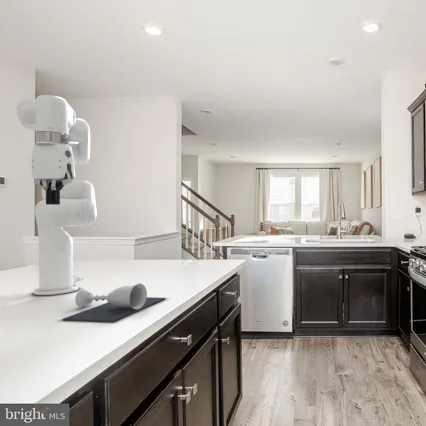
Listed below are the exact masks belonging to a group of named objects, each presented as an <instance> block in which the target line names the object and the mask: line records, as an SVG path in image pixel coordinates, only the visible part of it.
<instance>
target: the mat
mask: <svg viewBox="0 0 426 426" xmlns="http://www.w3.org/2000/svg"><path fill="white" fill-rule="evenodd" d="M165 300H166V297H148V296H147V298H146V301H145V304H144V305H143V306H142V307H141V308H140V309H134V308H119V307H116V306H114V305H112V304H111V303H109V302H108V301H107V302H105V303H102V304H99V305H98V306H94V307H91V308H89V309H86V310H83V311H80V312H77V313H75V314H72V315H69V316H67V317H64V318H62V321H65V322H67V321H69V322H93V323H95V322H97V323H115V322H118V321H120V320H122V319H125V318H126V317H129V316H131V315H133V314H136V313H137V312H140V311H142V310H144V309H146V308H149V307H151V306H154V305H155V304H158V303H161V302H162V301H165Z"/></svg>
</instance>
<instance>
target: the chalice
mask: <svg viewBox="0 0 426 426" xmlns="http://www.w3.org/2000/svg"><path fill="white" fill-rule="evenodd" d="M147 297H148V291H147V288H146V286H145V285H144V284H143V283H136V284H135V285H123V286H120V287H118V288H116V289H114V290H112V291H110V292H109V293H108V294H107V295H105V294H102V295H100V294H96V295H93V293H92V292H91V291H89V290H86V289H80V290H78V292H77V293H76V295H75V298H74V301H75V302H74V303H75V305H76V306H77V307H78V308H85V307H87V306H89V305H91V304H92V303H93V301H95V302H99V301H103V302H104V301H105V300H106V301H107V303H108V302H109V303H111V304H112V305H114V306H116V307H119V308H134V309H140V308H141V307H142V306H143V305H144V304H145V301H146V298H147Z"/></svg>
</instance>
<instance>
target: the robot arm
mask: <svg viewBox="0 0 426 426" xmlns="http://www.w3.org/2000/svg"><path fill="white" fill-rule="evenodd" d="M76 113H77V112H76V111H75V110H74V108H73V107H72V106H71V105H70V104H69V103H68V101H67V100H66V99H65V98H63V97H61V96H58V95H52V94H40V95H38V96H37V97H36V98H35V99H34V98H33V99H31V98H22V99H20V100H19V101H18V103H17V105H16V116H17V119H18V121H19V123H20V124H21V126H22V127H23V128H24V129H25V128H26V129H29V130H32V131H35V144H34V146H33V149H32V156H31V177H32V178H33V184H35V185H39V186H41V197H42V200H40V201H38V202H37V203H36V204H35V206H34V214H35V215H34V216H35V221H36V226H37V235H38V236H37V237H38V287H37V288H34V289H33V290H32V294H33V295H35V296H52V295H63V294H67V293H72V292H76V291H79V285H78V284H76V283H77V282H81V281H83V279H84V278H83V276H82V275H77V276H76V275H74V240H73V238H72V235H71V234H70V233H69V232H67V231H66V230H65V229H64V228H68V227H89V226H92V225H94V224H95V222H96V221H97V215H98V214H97V201H96V191H95V187H94V184H93V183H92V182H90V181H89V180H85V179H75V178H76V166H75V165H86V164H88V163H89V161H90V158H91V128H90V125H89V123H88V122H87V121H86V120H85V119H83V118H77V114H76Z"/></svg>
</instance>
